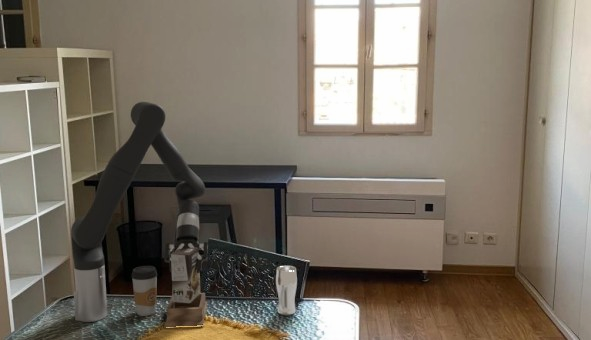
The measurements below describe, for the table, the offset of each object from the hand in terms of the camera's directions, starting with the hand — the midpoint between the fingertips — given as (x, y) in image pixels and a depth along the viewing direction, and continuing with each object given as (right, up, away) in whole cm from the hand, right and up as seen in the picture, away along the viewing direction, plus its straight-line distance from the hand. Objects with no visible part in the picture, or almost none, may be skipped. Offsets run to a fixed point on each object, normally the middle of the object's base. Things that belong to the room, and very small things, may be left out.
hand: (185, 272), depth 179 cm
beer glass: (+33, -15, +6) cm, 36 cm away
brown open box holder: (0, -15, +3) cm, 15 cm away
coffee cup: (-14, -15, +6) cm, 21 cm away
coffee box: (0, -9, +3) cm, 9 cm away
